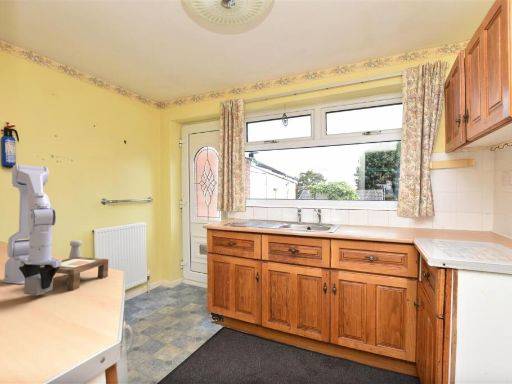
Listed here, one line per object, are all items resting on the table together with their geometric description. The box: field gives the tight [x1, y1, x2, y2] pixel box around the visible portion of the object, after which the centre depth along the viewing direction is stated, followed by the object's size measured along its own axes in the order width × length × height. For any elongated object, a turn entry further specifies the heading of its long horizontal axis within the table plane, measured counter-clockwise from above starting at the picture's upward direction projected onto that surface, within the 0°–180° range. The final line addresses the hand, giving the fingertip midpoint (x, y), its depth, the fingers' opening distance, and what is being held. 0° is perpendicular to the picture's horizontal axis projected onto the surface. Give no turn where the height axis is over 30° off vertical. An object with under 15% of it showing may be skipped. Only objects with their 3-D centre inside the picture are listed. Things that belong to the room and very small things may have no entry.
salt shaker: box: [68, 239, 83, 258], centre depth 111 cm, size 6×6×13 cm
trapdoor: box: [60, 259, 96, 268], centre depth 97 cm, size 10×10×1 cm
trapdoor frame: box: [38, 256, 109, 291], centre depth 97 cm, size 16×16×7 cm
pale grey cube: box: [23, 274, 54, 296], centre depth 82 cm, size 5×5×5 cm
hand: (38, 287), depth 82 cm, fingers closed on pale grey cube, 5 cm apart
